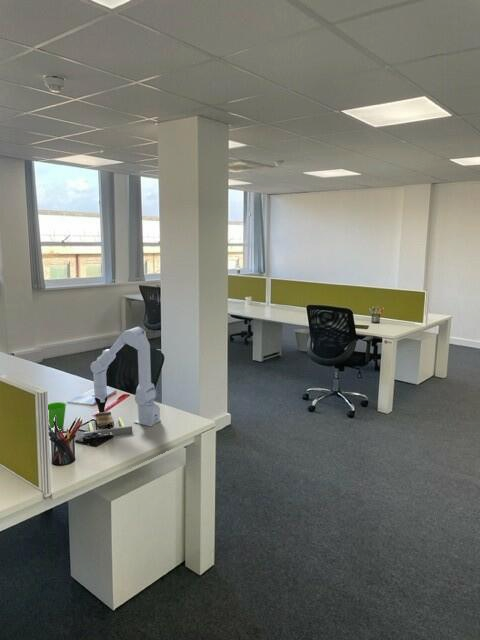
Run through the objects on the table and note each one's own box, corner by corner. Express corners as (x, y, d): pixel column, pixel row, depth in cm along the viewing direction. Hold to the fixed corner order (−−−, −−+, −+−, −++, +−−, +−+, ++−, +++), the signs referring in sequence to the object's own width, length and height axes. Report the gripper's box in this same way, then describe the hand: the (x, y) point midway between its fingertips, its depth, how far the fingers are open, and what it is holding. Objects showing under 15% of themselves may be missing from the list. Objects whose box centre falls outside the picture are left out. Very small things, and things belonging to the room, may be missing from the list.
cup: (60, 434, 205) (59, 410, 203) (41, 432, 207) (40, 408, 205) (71, 426, 214) (70, 402, 212) (53, 424, 215) (52, 401, 213)
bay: (81, 428, 211) (81, 421, 211) (127, 421, 219) (126, 415, 219) (84, 440, 199) (84, 433, 199) (132, 432, 207) (132, 426, 206)
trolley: (95, 420, 219) (95, 413, 219) (111, 418, 222) (110, 411, 222) (97, 429, 210) (97, 421, 210) (114, 426, 213) (113, 419, 212)
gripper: (89, 381, 229) (91, 408, 232) (93, 390, 216) (94, 418, 219) (104, 379, 232) (106, 406, 234) (108, 388, 219) (110, 416, 221)
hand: (101, 412), depth 227 cm, fingers closed
